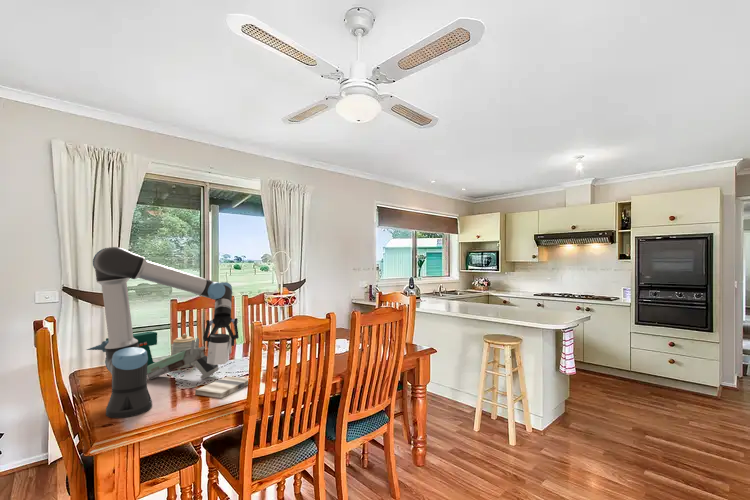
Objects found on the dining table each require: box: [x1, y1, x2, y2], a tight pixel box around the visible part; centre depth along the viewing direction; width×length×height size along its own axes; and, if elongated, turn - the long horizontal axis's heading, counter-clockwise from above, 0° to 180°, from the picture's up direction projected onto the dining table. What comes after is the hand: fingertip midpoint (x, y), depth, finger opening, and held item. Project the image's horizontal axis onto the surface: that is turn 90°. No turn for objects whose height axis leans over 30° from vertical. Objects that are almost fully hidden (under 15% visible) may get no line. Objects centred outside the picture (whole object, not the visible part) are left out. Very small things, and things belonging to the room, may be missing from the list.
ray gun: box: [147, 337, 220, 380], centre depth 186 cm, size 7×32×20 cm, turn 90°
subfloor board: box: [194, 375, 249, 399], centre depth 170 cm, size 20×14×2 cm
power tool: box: [86, 330, 158, 366], centre depth 189 cm, size 32×7×20 cm, turn 148°
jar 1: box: [170, 333, 196, 369], centre depth 208 cm, size 13×13×18 cm
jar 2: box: [207, 333, 231, 366], centre depth 165 cm, size 9×8×12 cm
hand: (220, 352), depth 163 cm, fingers closed on jar 2, 7 cm apart
